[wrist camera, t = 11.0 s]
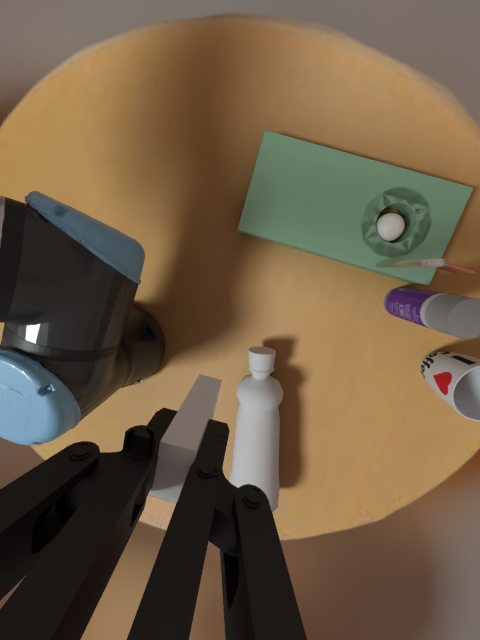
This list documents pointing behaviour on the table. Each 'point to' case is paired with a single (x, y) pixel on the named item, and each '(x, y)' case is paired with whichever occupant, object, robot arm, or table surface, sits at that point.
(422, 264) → the flag pin
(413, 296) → the container
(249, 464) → the bottle
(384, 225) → the ball
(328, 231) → the green
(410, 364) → the table surface
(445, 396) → the cup
